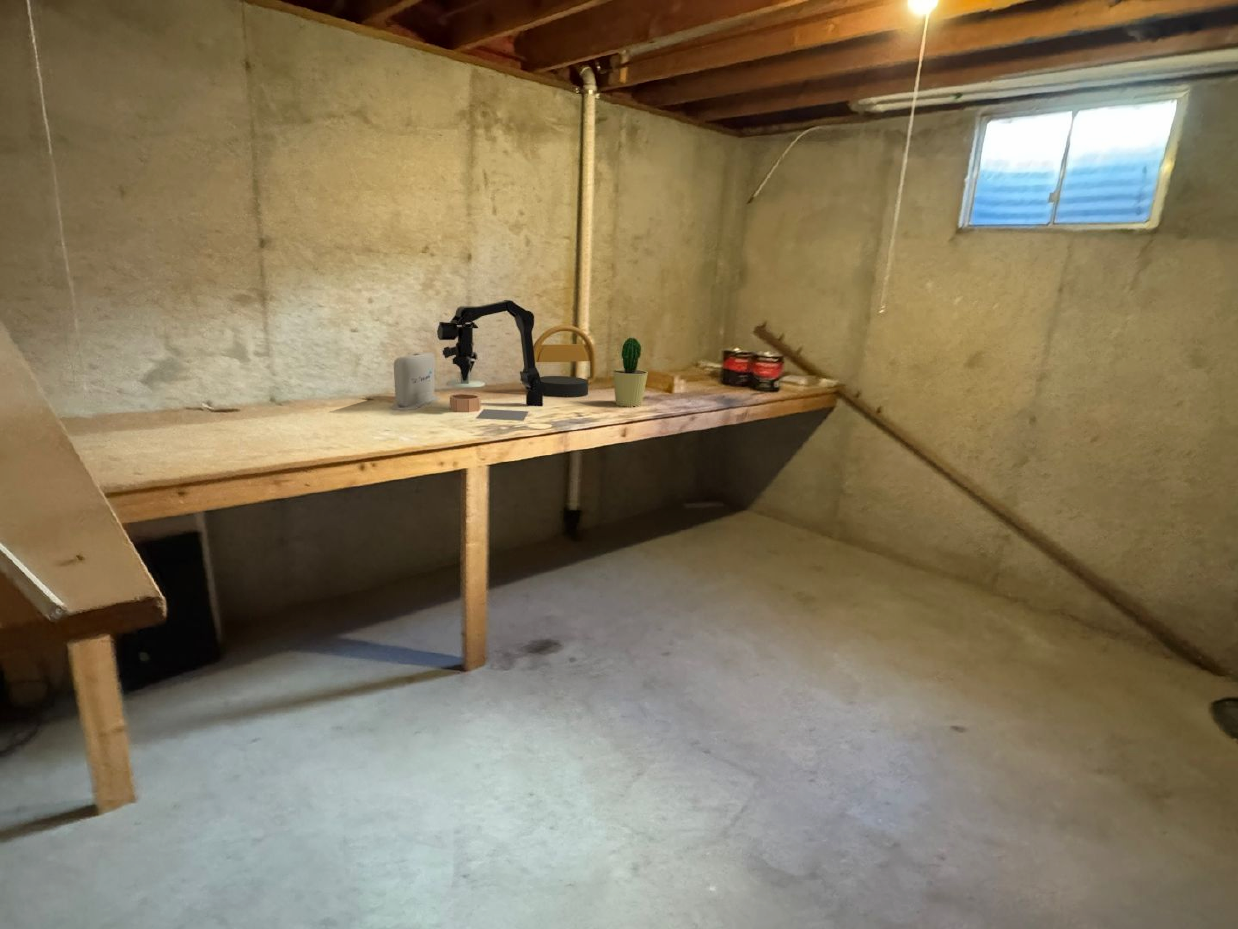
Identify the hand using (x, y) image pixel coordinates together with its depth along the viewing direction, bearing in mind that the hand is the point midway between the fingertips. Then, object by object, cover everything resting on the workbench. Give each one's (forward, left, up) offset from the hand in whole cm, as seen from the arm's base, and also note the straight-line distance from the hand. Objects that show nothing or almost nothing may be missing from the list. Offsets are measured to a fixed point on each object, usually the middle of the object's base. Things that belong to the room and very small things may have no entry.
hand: (465, 379), depth 270 cm
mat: (-16, +7, -12) cm, 21 cm away
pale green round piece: (0, 0, -2) cm, 2 cm away
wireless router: (+22, -9, -12) cm, 27 cm away
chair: (-35, -52, -12) cm, 64 cm away
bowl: (0, 0, -12) cm, 12 cm away
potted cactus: (-66, -30, -12) cm, 74 cm away
